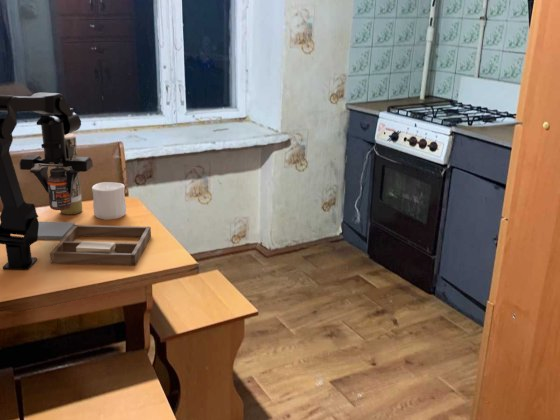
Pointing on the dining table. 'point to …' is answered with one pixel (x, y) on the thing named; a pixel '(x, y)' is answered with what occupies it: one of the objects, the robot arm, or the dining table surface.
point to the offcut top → (96, 247)
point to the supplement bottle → (58, 190)
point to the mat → (54, 229)
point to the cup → (109, 200)
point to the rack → (123, 255)
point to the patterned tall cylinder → (76, 190)
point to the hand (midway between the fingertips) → (59, 192)
